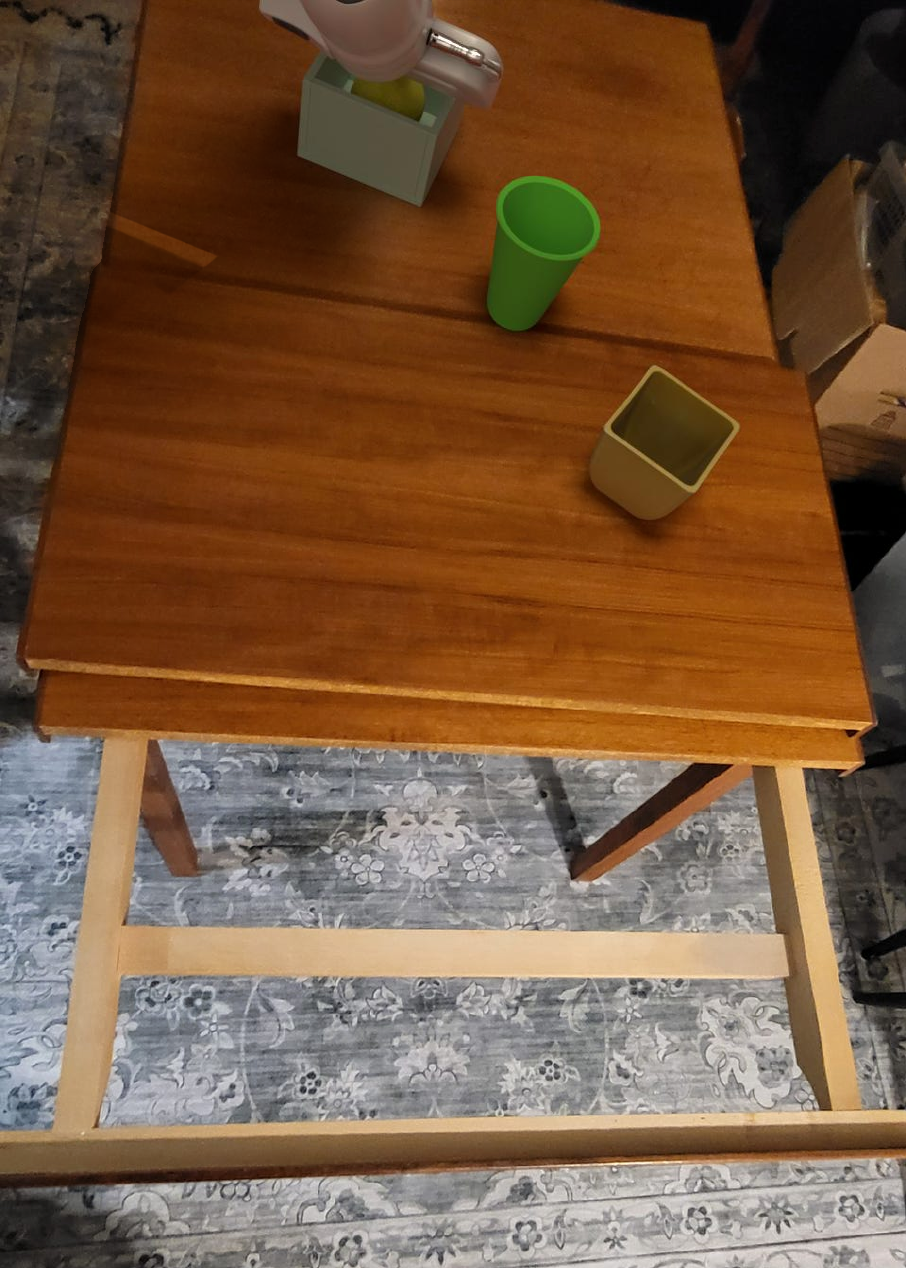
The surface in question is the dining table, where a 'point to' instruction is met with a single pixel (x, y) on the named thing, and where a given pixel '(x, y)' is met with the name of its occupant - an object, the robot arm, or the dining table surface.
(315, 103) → the bin
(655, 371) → the flower pot
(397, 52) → the robot arm
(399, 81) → the fruit
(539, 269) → the cup
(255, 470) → the dining table surface
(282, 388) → the dining table surface
